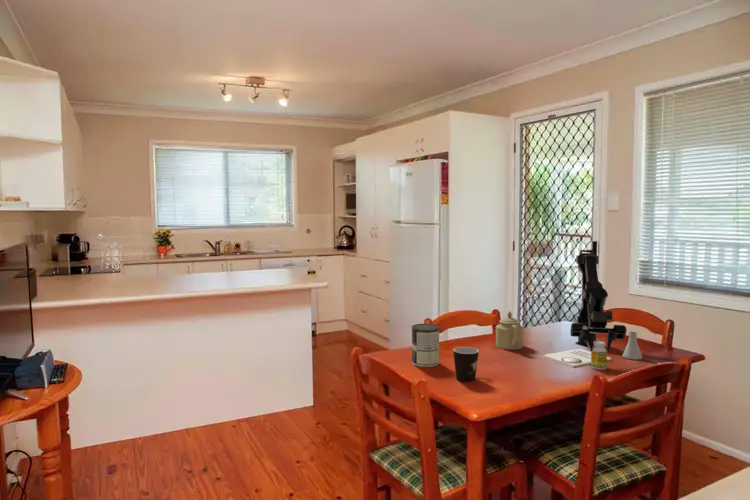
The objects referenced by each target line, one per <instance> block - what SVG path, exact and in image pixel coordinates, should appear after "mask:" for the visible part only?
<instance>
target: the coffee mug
mask: <svg viewBox="0 0 750 500" xmlns="http://www.w3.org/2000/svg"><path fill="white" fill-rule="evenodd" d="M452 351H453V352H452V353H453V361H454V370H455V379H456V380H457V381H458V382H461V383H471V382H475V380H476V375H477V368H478V359H479V353H480V350H479V349H478V348H475V347H470V346H459V347H455V348H453V350H452Z"/></svg>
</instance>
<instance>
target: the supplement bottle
mask: <svg viewBox="0 0 750 500" xmlns="http://www.w3.org/2000/svg"><path fill="white" fill-rule="evenodd" d="M593 345H594V346H592V351H590V352H591V364H590V367H591V368H592V369H595V370H599V371H600V370H601V371H602V370H606V369H607V367H608V361H607V357H608V352H607V347H606V342H605V341H604V340H596V341H594V342H593Z"/></svg>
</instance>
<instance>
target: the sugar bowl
mask: <svg viewBox="0 0 750 500" xmlns="http://www.w3.org/2000/svg"><path fill="white" fill-rule="evenodd" d="M512 316H513V314H512V311H507V316H506V317H503V318H502V319H500V320H499V324H496V325H495V346H496V347H497V348H498V349H500V350H501V349H502V350H508V351H510V350H511V351H513V350H521V349H523V347H524V346H523V345H524V327H523V326H522V325H520V323H521V322H520V320H518V319H517V318H514V317H512Z"/></svg>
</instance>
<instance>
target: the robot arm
mask: <svg viewBox="0 0 750 500" xmlns="http://www.w3.org/2000/svg"><path fill="white" fill-rule="evenodd" d="M575 258H576V259H575V260H576V261H575V262H576V264H577V269H578V270H579V272H580V273H581V302H582V303H581V309H580V310H579V311H578V313H577V314H578V315H577V316H576V319H575V320H576V321H575V322H572V323H571V325H570V331H569V332H570V333H569V334H570V336H571V337H575V338H576V337H577V340H578V341H575V344H576V345H580V346H584V347H588V349H589V351H590V352H591V351H592V347H593V346H594V345H593V342H594V341H597V335H596V334H602V335H604V334H605V335H606V334H607V338H606V349H607V353H609V352H610V349H611V346H612V343H613V341H616V340H624V339H625V337H626V334H627V327H626V325H623V324H613V327H612V328H610V327H609V328H608V321H612V320H613V310H606V311H605V308H604V307H605V306H606V302H607V298H608V297H609V294H608V291H607V289H605V288H604V287H603V284H602V283H601V282H600V281H599V276H598V270H597V265H599V263H600V262H599V259H600V258H599V255H596V253H595V252H579V253H578V255H576V256H575Z"/></svg>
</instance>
